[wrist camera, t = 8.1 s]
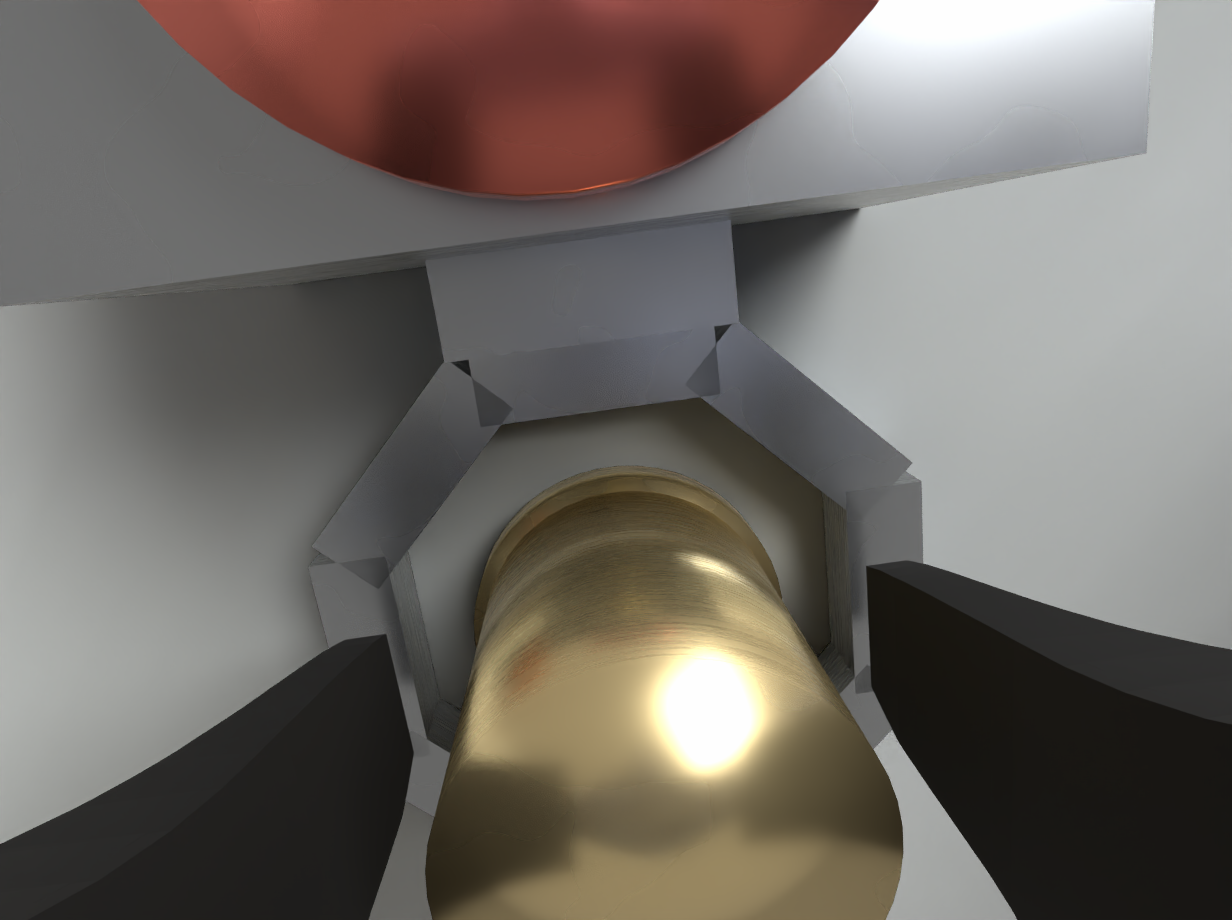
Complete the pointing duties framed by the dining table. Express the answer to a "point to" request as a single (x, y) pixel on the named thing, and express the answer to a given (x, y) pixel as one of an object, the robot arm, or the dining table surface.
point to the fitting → (652, 728)
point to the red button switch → (538, 213)
